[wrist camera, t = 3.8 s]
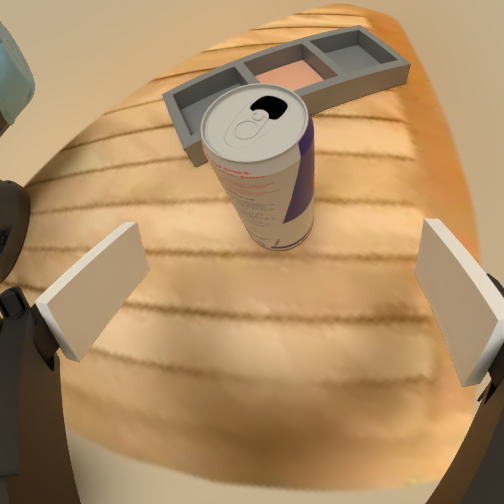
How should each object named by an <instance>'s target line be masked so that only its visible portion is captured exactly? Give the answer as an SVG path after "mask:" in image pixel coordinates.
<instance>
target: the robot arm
mask: <svg viewBox="0 0 504 504" xmlns="http://www.w3.org/2000/svg"><path fill="white" fill-rule="evenodd" d="M34 91H35V83H34V79H33V75H32V73H31V70H30V68H29V66H28V64H27V62H26V60H25V58H24V56H23V54H22V52H21V51H20V49H19V47H18V45H17V44H16V42H15V40H14V39H13V38H12V36H11V34H10V33H9V31H8V30H7V29H6V28H5V27H4V26H3V25H2V23H1V22H0V137H1V136H2V134H3V133H4V132H5V131H6V130H7V129H8V127H9V126H10V125H12V124H13V123H14V122H15V119H16V117H17V116H18V115H19V114H20V112H21V111H22V110H23V109H24V108H25V107H26V106H27V104H28V103H29V102H30V101H31V99H32V97H33V95H34ZM29 208H30V204H29V196H28V193H27V191H26V190H25V189H24V188H23V187H22V186H20V185H18V184H17V183H15V182H13V181H8V180H7V181H2V180H0V282H1V281H2V280H3V279H4V278H5V277H6V276H7V274H8V273H9V271H10V270H11V268H12V267H13V265H14V263H15V261H16V259H17V256H18V254H19V252H20V249H21V246H22V243H23V240H24V237H25V233H26V229H27V225H28V219H29ZM149 271H150V269H149V266H148V262H147V259H146V255H145V251H144V248H143V244H142V240H141V236H140V232H139V228H138V224H137V222H124V223H123V224H122V225H121V226H119V227H118V228H117V229H115V230H114V231H113V232H112V233H111V234H109V235H108V236H107V237H106V238H104V239H103V240H102V241H101V242H100V243H98V244H97V245H96V246H95V247H94V248H92V249H91V250H90V251H89V252H88V253H87V254H85V255H84V256H83V257H82V258H81V259H80V260H79V261H77V262H76V263H75V264H74V265H73V266H72V267H71V268H69V269H68V270H67V271H66V272H65V273H64V274H63V275H62V276H61V277H60V278H59V279H57V280H56V281H55V282H54V283H53V284H52V285H51V286H50V287H49V288H48V289H47V290H46V291H45V292H44V293H43V294H42V295H41V296H40V297H39V298H38V299H37V300H35V304H34V305H33V306H32V307H31V308H30V306H29V304H28V302H27V300H26V298H25V296H24V294H23V292H22V290H21V288H20V287H12V288H9V289H7V290H5V291H4V292H3V293H1V294H0V312H1V313H2V315H3V317H4V318H3V319H2V318H1V317H0V504H81V502H80V499H79V495H78V492H77V488H76V484H75V480H74V475H73V471H72V466H71V461H70V456H69V451H68V445H67V439H66V432H65V425H64V417H63V408H62V396H61V382H60V359H59V356H58V355H57V353H56V351H57V350H58V349H59V347H60V348H61V350H62V351H63V353H64V355H65V356H66V358H68V359H71V360H74V361H77V362H80V361H81V360H82V358H83V357H84V355H85V354H86V353H87V351H88V350H89V348H90V347H91V346H92V344H93V343H94V342H95V340H96V339H97V338H98V336H99V335H100V333H101V332H102V331H103V329H104V328H105V327H106V325H107V324H108V323H109V322H110V320H111V319H112V318H113V316H114V315H115V314H116V312H117V311H118V310H119V308H120V307H121V306H122V305H123V303H124V302H125V301H126V300H127V298H128V297H129V296H130V294H131V293H132V292H133V291H134V289H135V288H136V287H137V286H138V284H139V283H140V282H141V281H142V280H143V278H144V277H145V276H146V275H147V273H148V272H149ZM414 274H415V276H416V278H417V280H418V282H419V284H420V286H421V288H422V290H423V292H424V294H425V296H426V298H427V301H428V303H429V305H430V307H431V309H432V311H433V314H434V316H435V318H436V320H437V323H438V325H439V327H440V330H441V332H442V335H443V337H444V340H445V342H446V345H447V347H448V350H449V352H450V355H451V357H452V360H453V363H454V366H455V368H456V371H457V374H458V377H459V380H460V383H461V386H462V387H466V386H471V385H475V384H480V383H481V381H482V380H483V378H484V377H485V375H486V373H487V372H489V374H490V377H491V379H492V380H491V381H490V383H489V384H488V386H487V387H486V388H485V390H484V391H483V393H482V394H481V395H480V397H479V398H478V400H477V401H479V402H480V400H481V399H482V401H481V403H480V406H479V408H478V411H477V413H476V415H475V417H474V420H473V422H472V424H471V426H470V428H469V431H468V433H467V435H466V437H465V439H464V441H463V443H462V445H461V447H460V449H459V450H458V452H457V454H456V456H455V458H454V460H453V461H452V463H451V465H450V467H449V468H448V470H447V472H446V473H445V475H444V477H443V478H442V480H441V481H440V483H439V484H438V486H437V488H436V489H435V491H434V492H433V494H432V495H431V496H430V498H429V499H428V501H427V502H426V504H504V288H503V287H502V285H501V284H500V283H499V282H498V281H497V280H496V279H495V278H493V277H492V276H491V275H490V274H486V273H485V272H484V271H483V270H482V268H481V267H480V266H479V264H478V263H477V262H476V261H475V260H474V258H473V257H472V256H471V255H470V253H469V252H468V251H467V250H466V249H465V248H464V246H463V245H462V244H461V243H460V242H459V241H458V240H457V238H456V237H455V236H454V235H453V234H452V233H451V232H450V231H449V229H448V228H447V227H446V226H445V225H444V224H443V223H442V222H441V221H440V220H439V219H426V218H424V221H423V228H422V235H421V241H420V246H419V252H418V257H417V262H416V267H415V272H414Z"/></svg>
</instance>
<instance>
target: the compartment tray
mask: <svg viewBox="0 0 504 504" xmlns="http://www.w3.org/2000/svg"><path fill="white" fill-rule="evenodd" d="M410 65H411V64H410V63H409V62H408V61H407V60H406V59H404V58H403V57H402V56H401V55H400V54H398V53H397V52H396V51H395V50H393V49H392V48H391V47H389V46H388V45H387V44H386V43H384V42H383V41H382V40H380V39H379V38H377V37H376V36H375V35H373V34H372V33H371V32H369V31H368V30H366V29H365V28H363V27H362V26H360V25H358V26H353V27H347V28H342V29H337V30H333V31H328V32H324V33H320V34H316V35H312V36H308V37H304V38H301V39H297V40H294V41H290V42H287V43H284V44H280V45H277V46H274V47H271V48H268V49H265V50H262V51H259V52H257V53H254V54H251V55H248V56H246V57H243V58H240V59H238V60H235V61H233V62H230V63H228V64H225V65H223V66H221V67H218V68H216V69H214V70H211V71H209V72H207V73H205V74H202V75H200V76H198V77H196V78H194V79H192V80H190V81H188V82H185V83H183V84H181V85H179V86H177V87H175V88H174V89H172V90H170V91H168V92H166V93H164V94H162V96H163V99H164V101H165V104H166V106H167V109H168V111H169V114H170V116H171V119H172V121H173V124H174V126H175V129H176V131H177V134H178V136H179V139H180V141H181V143H182V146H183V148H184V150H185V152H186V153H187V155H188V156H189V158H190V159H191V161H192V162H193V164H194V165H195V167H197V166H199V165H201V164H203V163H205V162H207V161H208V159H207V158H206V155H205V153H204V151H203V147H202V137H201V130H200V128H201V121H202V119H203V116H204V114H205V112H206V111H207V109H208V108H209V106H210V105H211V104H212V103H213V102H214V101H215V100H216V99H218V98H219V97H220V96H221V95H223V94H225V93H226V92H228V91H230V90H232V89H235V88H237V87H240V86H244V85H248V84H256V83H269V84H276V85H279V86H283V87H286V88H288V89H290V90H291V91H293V92H295V93H296V94H297V95H298V96H299V97H300V98H301V99H302V100H303V101H304V103H305V105H306V107H307V110H308V112H309V114H310V115H313V114H315V113H318V112H321V111H323V110H326V109H329V108H331V107H334V106H337V105H340V104H342V103H345V102H348V101H351V100H354V99H357V98H360V97H363V96H366V95H369V94H372V93H375V92H379V91H382V90H385V89H389V88H392V87H395V86H399V85H402V84H406V81H407V77H408V73H409V69H410Z"/></svg>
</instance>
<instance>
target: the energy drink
mask: <svg viewBox="0 0 504 504" xmlns="http://www.w3.org/2000/svg"><path fill="white" fill-rule="evenodd" d="M200 130H201V137H202V147H203V151H204V153H205V155H206V158H207V159H208V161H209V163H210V165H211V166H212V168H213V170H214V172H215V173H216V175H217V177H218V179H219V180H220V182H221V184H222V186H223V188H224V189H225V191H226V193H227V195H228V196H229V198H230V200H231V202H232V204H233V205H234V207H235V209H236V211H237V212H238V214H239V216H240V218H241V219H242V221H243V223H244V225H245V227H246V228H247V230H248V232H249V234H250V235H251V237H252V238H253V239H254V240H255V241H256V242H257V243H258V244H260V245H261V246H263V247H265V248H268V249H272V250H285V249H289V248H292V247H294V246H297V245H298V244H300V243H301V242H302V241H303V240H304V239H305V238H306V237H307V236H308V234H309V233H310V231H311V228H312V225H313V219H314V126H313V120H312V118H311V116H310V114H309V112H308V110H307V107H306V105H305V103H304V101H303V100H302V99H301V98H300V97H299V96H298V95H297V94H296V93H295V92H293V91H291V90H290V89H288V88H286V87H283V86H279V85H276V84H269V83H256V84H248V85H244V86H240V87H237V88H235V89H232V90H230V91H228V92H226V93H225V94H223V95H221V96H220V97H219V98H218V99H216V100H215V101H214V102H213V103H212V104H211V105H210V106H209V108H208V109H207V111H206V112H205V114H204V116H203V119H202V121H201V128H200Z"/></svg>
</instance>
